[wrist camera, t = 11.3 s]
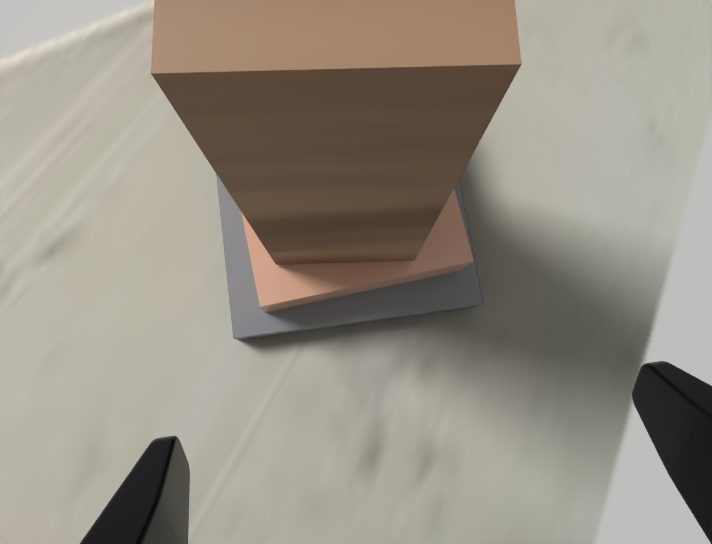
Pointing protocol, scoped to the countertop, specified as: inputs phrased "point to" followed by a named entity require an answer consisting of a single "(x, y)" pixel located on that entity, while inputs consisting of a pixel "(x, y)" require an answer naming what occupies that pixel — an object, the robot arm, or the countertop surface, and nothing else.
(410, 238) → the walnut pillar
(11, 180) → the countertop surface
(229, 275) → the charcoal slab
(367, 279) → the terracotta tile
